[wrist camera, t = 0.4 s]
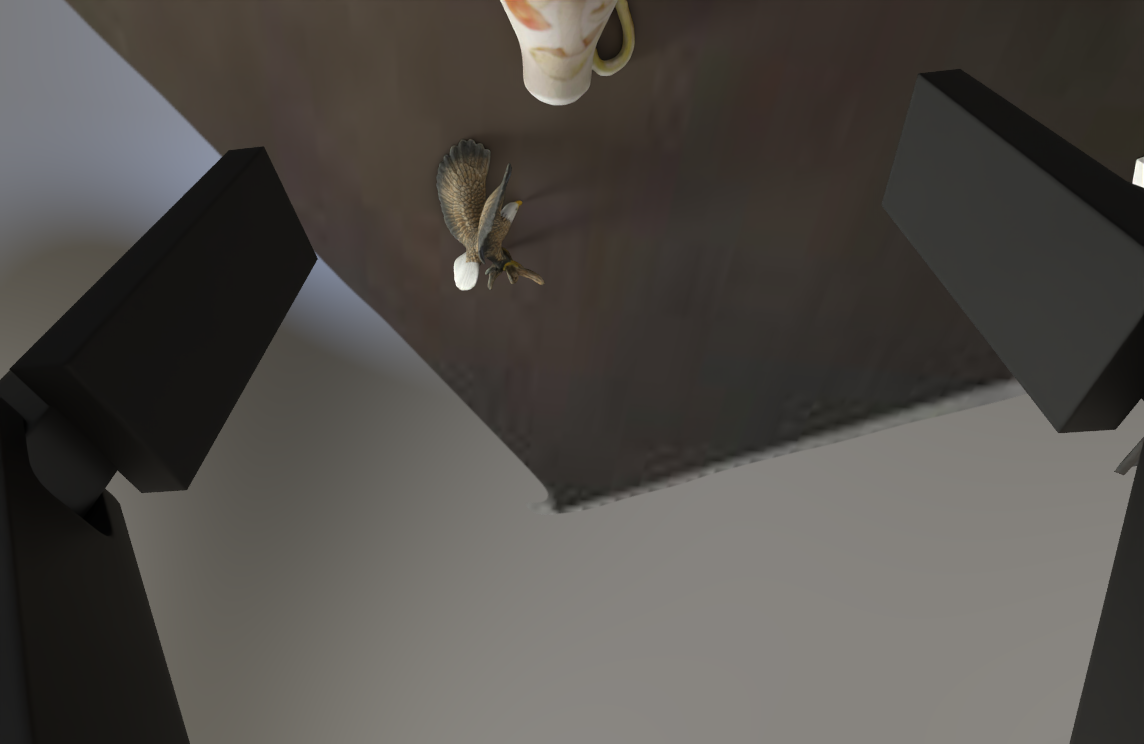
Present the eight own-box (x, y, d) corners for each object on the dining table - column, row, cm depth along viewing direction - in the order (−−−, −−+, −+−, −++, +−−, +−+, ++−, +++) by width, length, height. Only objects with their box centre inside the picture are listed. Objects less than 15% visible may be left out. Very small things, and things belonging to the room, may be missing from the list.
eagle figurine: (572, 246, 44) (536, 140, 36) (522, 317, 41) (472, 218, 34) (493, 228, 47) (446, 129, 40) (442, 292, 44) (381, 198, 37)
